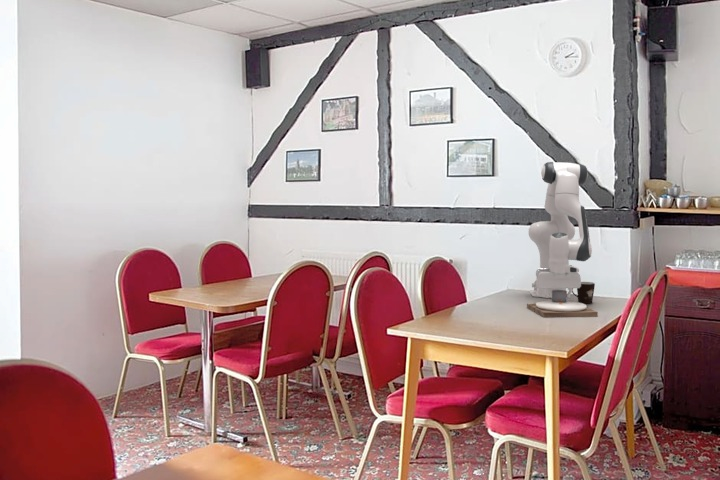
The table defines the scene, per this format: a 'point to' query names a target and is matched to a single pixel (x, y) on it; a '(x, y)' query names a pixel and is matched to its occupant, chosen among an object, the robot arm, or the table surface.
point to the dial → (560, 303)
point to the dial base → (562, 312)
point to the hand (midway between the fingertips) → (558, 297)
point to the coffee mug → (585, 292)
